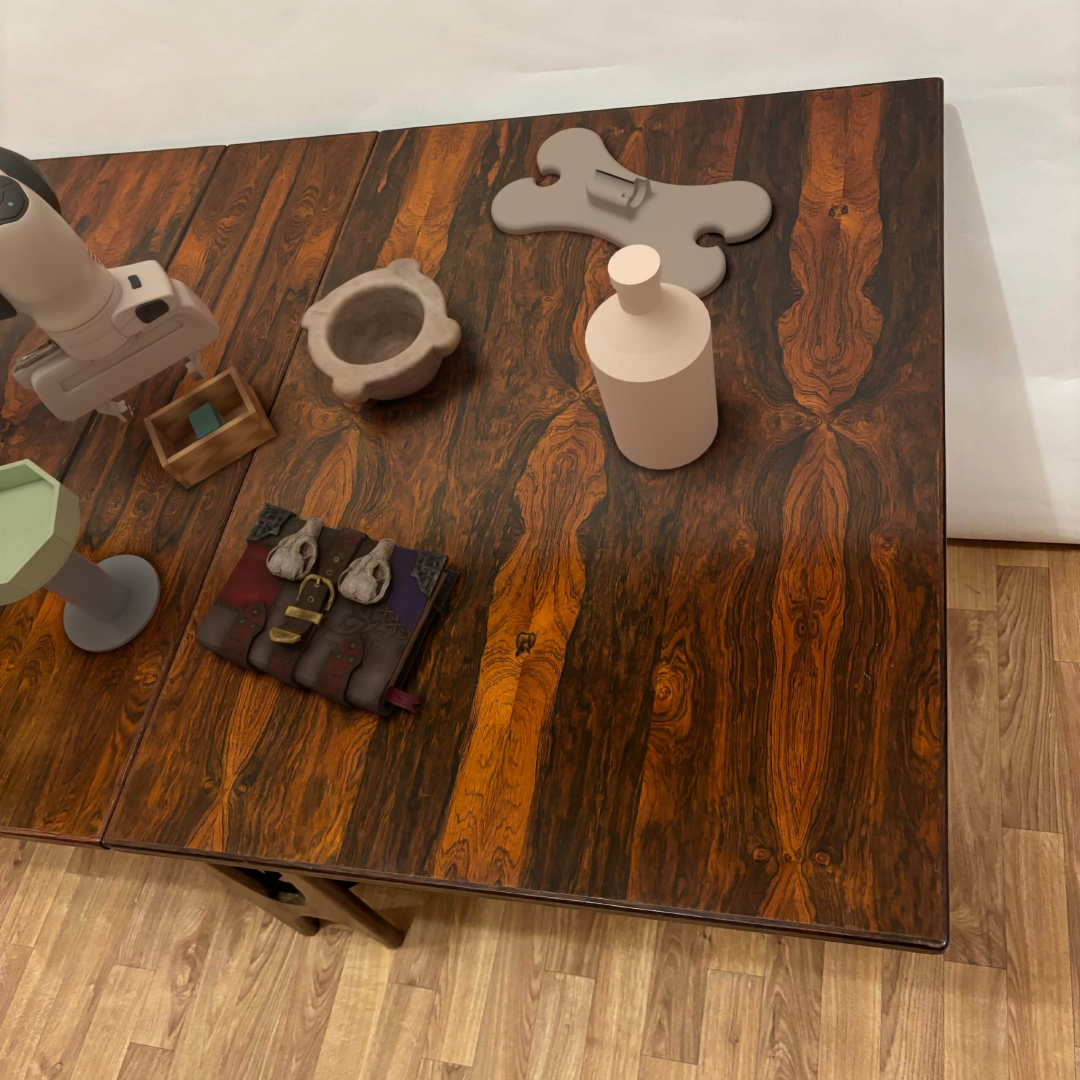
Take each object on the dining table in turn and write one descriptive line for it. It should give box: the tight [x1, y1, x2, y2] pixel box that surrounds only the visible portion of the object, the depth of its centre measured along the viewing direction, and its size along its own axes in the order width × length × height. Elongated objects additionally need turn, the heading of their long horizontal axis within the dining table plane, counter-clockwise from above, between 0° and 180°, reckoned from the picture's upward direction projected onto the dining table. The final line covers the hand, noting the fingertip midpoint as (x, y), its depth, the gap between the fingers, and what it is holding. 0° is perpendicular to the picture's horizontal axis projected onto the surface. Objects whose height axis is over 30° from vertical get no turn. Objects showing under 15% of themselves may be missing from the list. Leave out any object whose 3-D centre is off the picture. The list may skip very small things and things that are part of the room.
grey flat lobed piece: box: [490, 127, 773, 300], centre depth 115 cm, size 19×34×5 cm, turn 52°
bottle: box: [584, 245, 719, 470], centre depth 91 cm, size 12×12×25 cm
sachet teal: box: [188, 402, 223, 440], centre depth 113 cm, size 3×4×2 cm, turn 29°
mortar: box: [300, 257, 462, 405], centre depth 110 cm, size 17×17×9 cm
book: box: [194, 502, 461, 717], centre depth 97 cm, size 26×18×7 cm
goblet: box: [0, 458, 161, 653], centre depth 99 cm, size 14×14×20 cm
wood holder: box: [143, 365, 277, 490], centre depth 113 cm, size 13×9×6 cm
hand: (164, 395), depth 109 cm, fingers open, 8 cm apart
